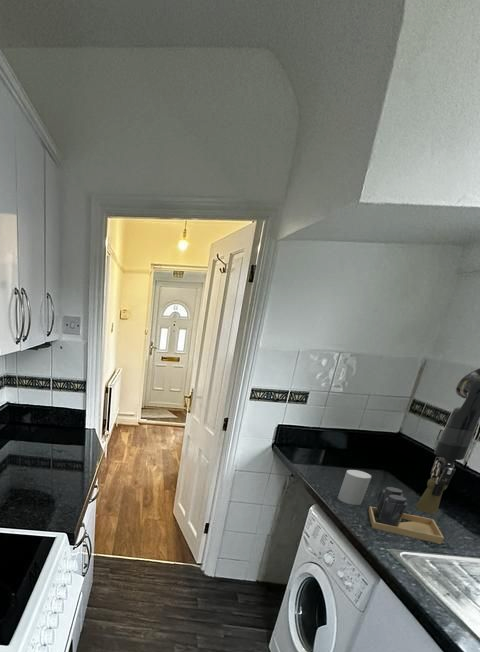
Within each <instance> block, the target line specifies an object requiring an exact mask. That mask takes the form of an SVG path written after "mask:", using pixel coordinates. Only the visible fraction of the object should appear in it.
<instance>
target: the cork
mask: <svg viewBox="0 0 480 652" xmlns="http://www.w3.org/2000/svg"><path fill="white" fill-rule="evenodd" d="M436 479H437V478H431V477H430V478H429V479H428V480H427V482H426V486H427V487H426V489H425V490H424V492H423V494H422V495H421V496H420V498H419V499H418V501H417V503H416V505H415V506H414V508H415V509H416V510H417V511H420V512H422V513H425V514H430V515H436V514H437V513H438V510H439V507H440V503H441V499H442V496H443V492H444V491H445V490H446V489H447V488H448V486H444V488H443V490H442V492H441V495H440V496H434V495H432V494H431V493H432V490H433V488H434V486H435V482H436ZM442 481H444V479H442Z"/></svg>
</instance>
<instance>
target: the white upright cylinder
mask: <svg viewBox="0 0 480 652" xmlns="http://www.w3.org/2000/svg"><path fill="white" fill-rule="evenodd" d="M371 480H372V475H371V474H369V473H367V472H366V471H362V470H359V469H358V470H357V469H347V470H346V472H345V474H344V478H343V480H342V484H341V486H340V489H339V493H338V495H337V500H339V501H340V502H342V503H344V504H348V505H351V506H360V505H362V504H363V500H364V498H365V496H366V493H367V490H368V487H369V484H370V482H371Z"/></svg>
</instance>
